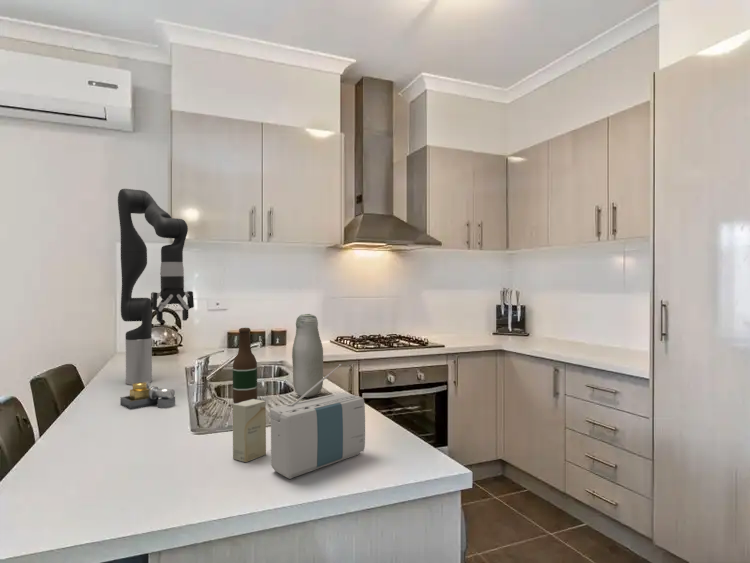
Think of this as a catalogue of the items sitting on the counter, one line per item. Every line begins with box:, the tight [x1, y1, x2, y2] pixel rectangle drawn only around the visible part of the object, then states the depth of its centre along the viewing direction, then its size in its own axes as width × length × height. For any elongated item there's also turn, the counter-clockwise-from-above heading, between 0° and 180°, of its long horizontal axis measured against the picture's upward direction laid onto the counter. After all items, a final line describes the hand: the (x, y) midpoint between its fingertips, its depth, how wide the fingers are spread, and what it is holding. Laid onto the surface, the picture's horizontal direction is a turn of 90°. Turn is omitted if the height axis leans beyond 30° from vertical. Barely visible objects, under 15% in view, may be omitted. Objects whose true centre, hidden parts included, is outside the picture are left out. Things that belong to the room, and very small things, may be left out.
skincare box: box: [232, 399, 267, 463], centre depth 107 cm, size 6×4×12 cm
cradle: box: [119, 395, 160, 411], centre depth 154 cm, size 9×9×2 cm
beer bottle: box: [232, 327, 258, 404], centre depth 157 cm, size 8×8×24 cm
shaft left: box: [143, 380, 152, 389], centre depth 163 cm, size 7×4×6 cm, turn 16°
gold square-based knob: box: [129, 382, 150, 401], centre depth 154 cm, size 4×4×6 cm
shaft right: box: [149, 385, 176, 409], centre depth 152 cm, size 7×4×6 cm, turn 76°
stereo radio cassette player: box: [269, 363, 366, 480], centre depth 103 cm, size 21×8×20 cm, turn 135°
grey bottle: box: [291, 313, 324, 398], centre depth 163 cm, size 10×10×28 cm
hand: (172, 321), depth 169 cm, fingers open, 8 cm apart
